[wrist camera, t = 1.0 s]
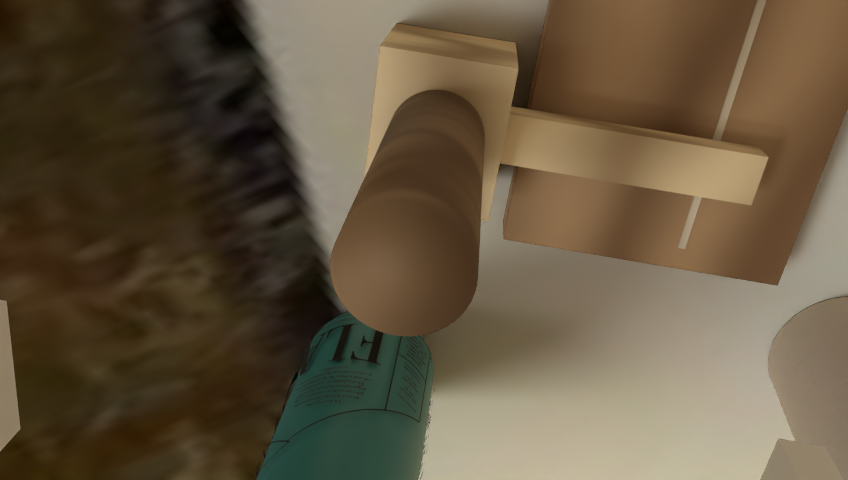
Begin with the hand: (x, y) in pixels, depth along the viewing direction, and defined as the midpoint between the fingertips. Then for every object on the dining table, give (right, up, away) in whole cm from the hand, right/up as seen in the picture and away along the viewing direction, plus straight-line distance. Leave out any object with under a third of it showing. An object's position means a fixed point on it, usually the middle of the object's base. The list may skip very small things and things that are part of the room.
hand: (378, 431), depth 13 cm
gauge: (+7, +8, +20) cm, 22 cm away
